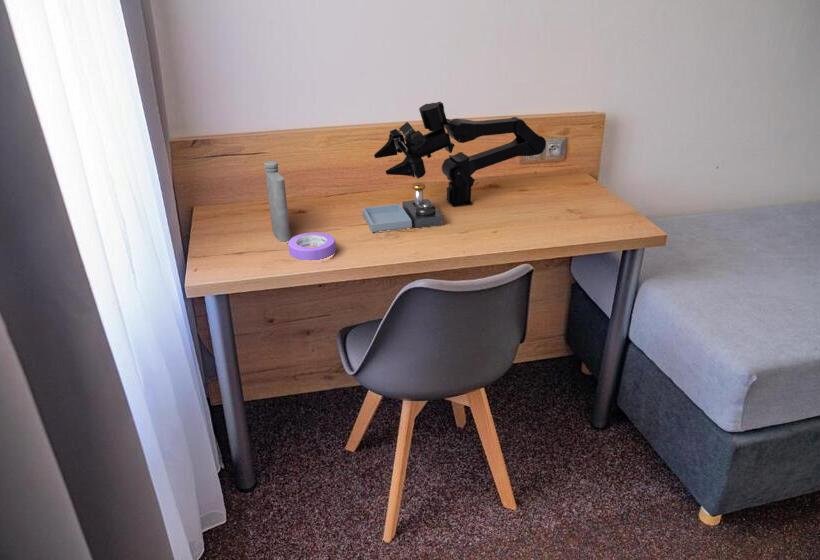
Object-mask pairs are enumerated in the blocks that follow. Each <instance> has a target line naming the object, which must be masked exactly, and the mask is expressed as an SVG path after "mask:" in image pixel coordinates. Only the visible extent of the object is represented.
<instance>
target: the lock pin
mask: <svg viewBox="0 0 820 560" xmlns="http://www.w3.org/2000/svg"><path fill="white" fill-rule="evenodd" d="M425 184H426V183H423V182H414V183H412V190H414V200H415V207H416V206H417V205H420V204H423V199H424V189H425V190H426V185H425Z"/></svg>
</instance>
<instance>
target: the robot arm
mask: <svg viewBox="0 0 820 560" xmlns="http://www.w3.org/2000/svg"><path fill="white" fill-rule="evenodd" d="M418 110H419V113H420V117H421V121H422V124H423V127H424V129H426V130H428V131H429V132H427V133H425V134H423V133H422V132H421V131H420V130H415V129H414V127H412V125H411V124H410V123H409V122H408V121H406V122H405V123H404V124H402V125H401V126H400V127H399V128H398V129H397V128H394V129H392V130H390V131H389V134H388V141H387V142H386V143H385V144H384V145H383V146H382V147H381V148H380V149H378V150H377V151H376V152H375V153H374V156H373V157H374V159H380V158H386V157H392V156H398V154H399V153H400V154H401V153H403V155H404V156H405V157H404V159H403V160H402V162H399V163H398V164H396V165H394V166H391V167H390V168H388V169H386V170H385V174H386V175H388V176H389V175H390V176H391V175H392V176H404V177H405V176H407V177H412V178H415V177H416V179H417V180H419V179H420V178H423V177H425V175H426V173H427V171H426V168H425V163H424V159H423V158H424V157H427V159H430V158H432V154H434V153H436V152H438V151H441V150H443V149H444V150H445V151H447V152H448V153H449V154H451V153H452V152H453V150H454V147H455V146H456V145H455V143H454V142H452V140H451V138H452V139H453V140H454V141H456V142H457V143H460V144H464V143H468V142H472V141H474V140H476V139H477V138H480V137H485V136H486V137H487V136H495V135H504V134H513V135H514V137H515V138H514V139H513V140H512V141H511V142H508V143H505V144H502V145H498V146H496V147H493V148H490V149H488V150H484V151H481V152H478V153H475V154H473V155H472V154H471V155H466V154H465V153H463V151H460V152H458V153H456V154H453V155H448V157H447V158H446V159H444V161H443V163H442V165H441V172H442V174H444V176H446V179H447V180H448V187H446V198H445V199H446V201H447V202H448V203H449V204H450V205H451V206H452V207H460V206H461V207H462V206H470V205H471V206H472V205H473V204H474V202H473V201H472V187H473V186H474V184H475V179H474V177H472V175H473V174H474V173H475V172H477V171H479V170H481V169H482V170H483V169H484V168H487V167H490V166H493V165H496V164H499V163H502V162H505V161H508V160H510V159H511V160H512V159H514V158H517V157H533V156H539V155H541V154H542V153H544V151H545V149H546V146H547V142H546V139H545V137H543V136H542V135H540V134H537V133H536V132H535V131H534V130H533V129H532V128H531V127H530V126H528V124H526V122H525V121H524V120H523V119H521V118H520V117H518V116H513V117H510V118H497V119H488V120H480V121H479V120H470V119H465V118H453V119H448V118H447V116H446V111H445V106H444V103H443V102H442V101H438V102H430V103H425V104H423V105H422V106H420V107H419V109H418Z"/></svg>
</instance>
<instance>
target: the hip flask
mask: <svg viewBox="0 0 820 560" xmlns="http://www.w3.org/2000/svg"><path fill="white" fill-rule="evenodd" d="M263 165H264V166H263V167H264V171H265V178H266V181H265V182H266V188H267V195H268V196H267V197H268V206H269V213H270V220H271V230H272V234H273V233H274V234H273V236H274V235H275V236H274V238H275V237H276V238H277V239H278V240H279V241H280V242H287V241H289V240H290V239H291V238H292V237H291V231H290V230H291V229H290V222H289V221H290V220H289V210H288V202H287V191H286V185H285V184H286V183H285V178H284V177H283V176H282V175H281V174H280V173H279V162H278V161H276V160H270V161H265V162H264V163H263ZM276 238H275V239H276Z"/></svg>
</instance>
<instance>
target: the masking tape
mask: <svg viewBox="0 0 820 560" xmlns="http://www.w3.org/2000/svg"><path fill="white" fill-rule="evenodd" d="M290 238H291V239H290V240H289V242H288V243H287V244H288V250H289V253H290V254H289V256H290V255H291V256H292V257H294V258H296V259H299V260H310V261H311V260H320V259H324V258H327V257H329V256H331V255H333V254H334V253H335V251H336V241H335V237H334V236H333V235H331V234H329V233H325V232H317V231H316V232H304V233H300V234H296V235H294V236H292V237H290ZM313 245H315V246H316V245H317V247H306V246H313ZM335 254H336V253H335Z"/></svg>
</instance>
